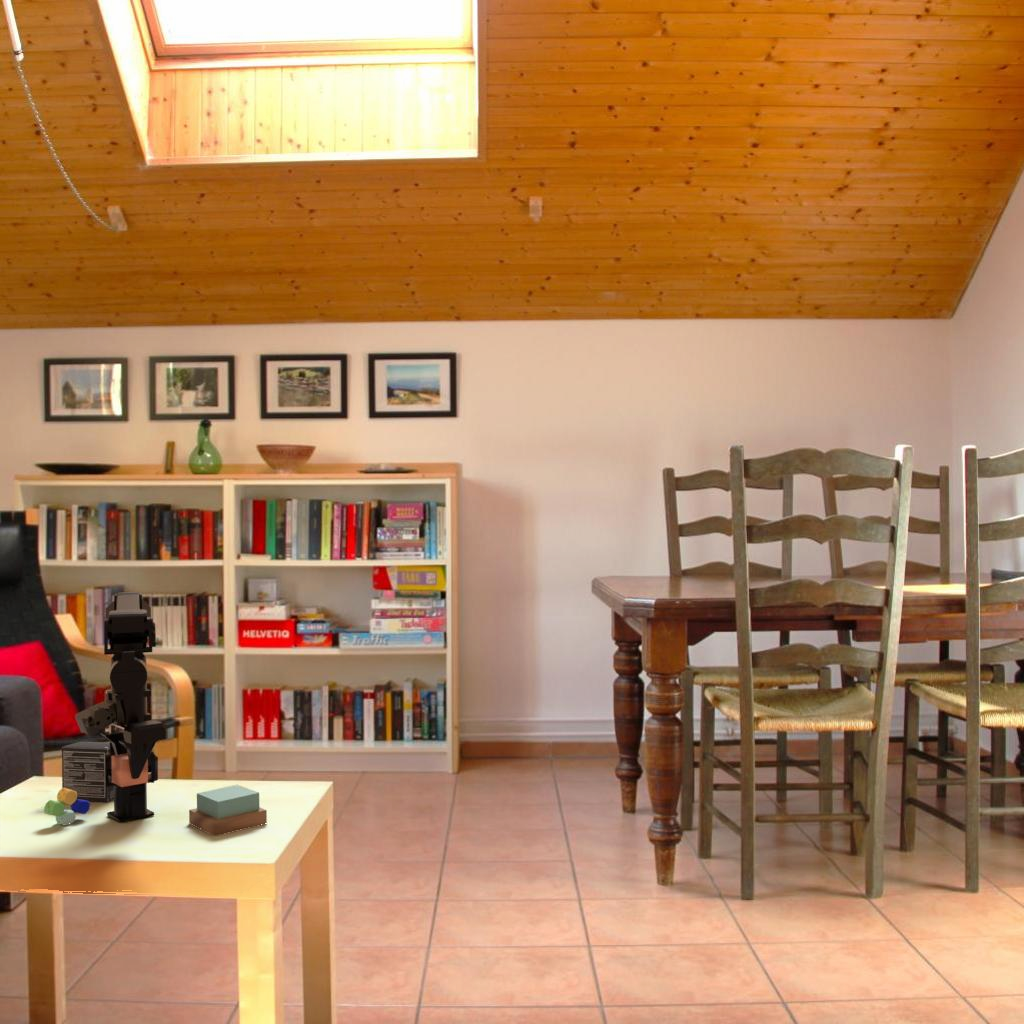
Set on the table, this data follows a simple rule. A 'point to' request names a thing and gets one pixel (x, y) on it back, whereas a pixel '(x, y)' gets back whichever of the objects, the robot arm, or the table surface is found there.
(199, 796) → the tower top
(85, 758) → the small box
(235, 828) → the tower base
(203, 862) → the table surface
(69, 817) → the multicolored block cluster
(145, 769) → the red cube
